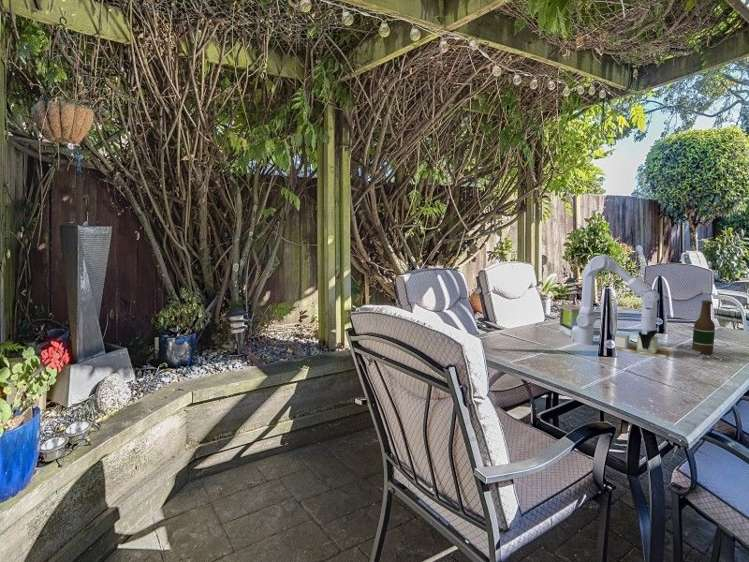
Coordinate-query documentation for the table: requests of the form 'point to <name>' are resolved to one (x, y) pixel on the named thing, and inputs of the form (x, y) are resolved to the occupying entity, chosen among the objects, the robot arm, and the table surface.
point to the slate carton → (622, 341)
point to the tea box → (568, 318)
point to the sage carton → (652, 345)
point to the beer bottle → (704, 330)
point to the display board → (660, 352)
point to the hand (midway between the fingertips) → (646, 347)
